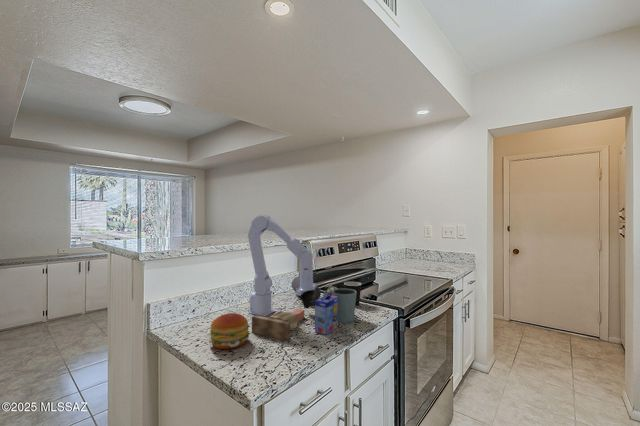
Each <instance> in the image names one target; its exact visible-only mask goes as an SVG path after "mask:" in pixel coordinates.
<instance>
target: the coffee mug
mask: <svg viewBox="0 0 640 426" xmlns="http://www.w3.org/2000/svg"><path fill="white" fill-rule="evenodd" d="M336 288H338V289H340V288H347V289H353V290H355V291H356V292H357V294H356V303H355V307H356V306H359V305H360V299H361V292H362V282H358V281H345V282H344V283H343V285H338V286H336Z"/></svg>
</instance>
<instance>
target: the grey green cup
mask: <svg viewBox="0 0 640 426" xmlns="http://www.w3.org/2000/svg"><path fill="white" fill-rule="evenodd" d="M332 292H333V296H337V297H338V324H339V323H340V324H349V323H353V322H354V321H355V313H356V312H355V311H356V306H355V303H356V294H357V292H356V291H355V290H353V289H347V288H342V287H339V288H338V289H335V290H333V291H332Z"/></svg>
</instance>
